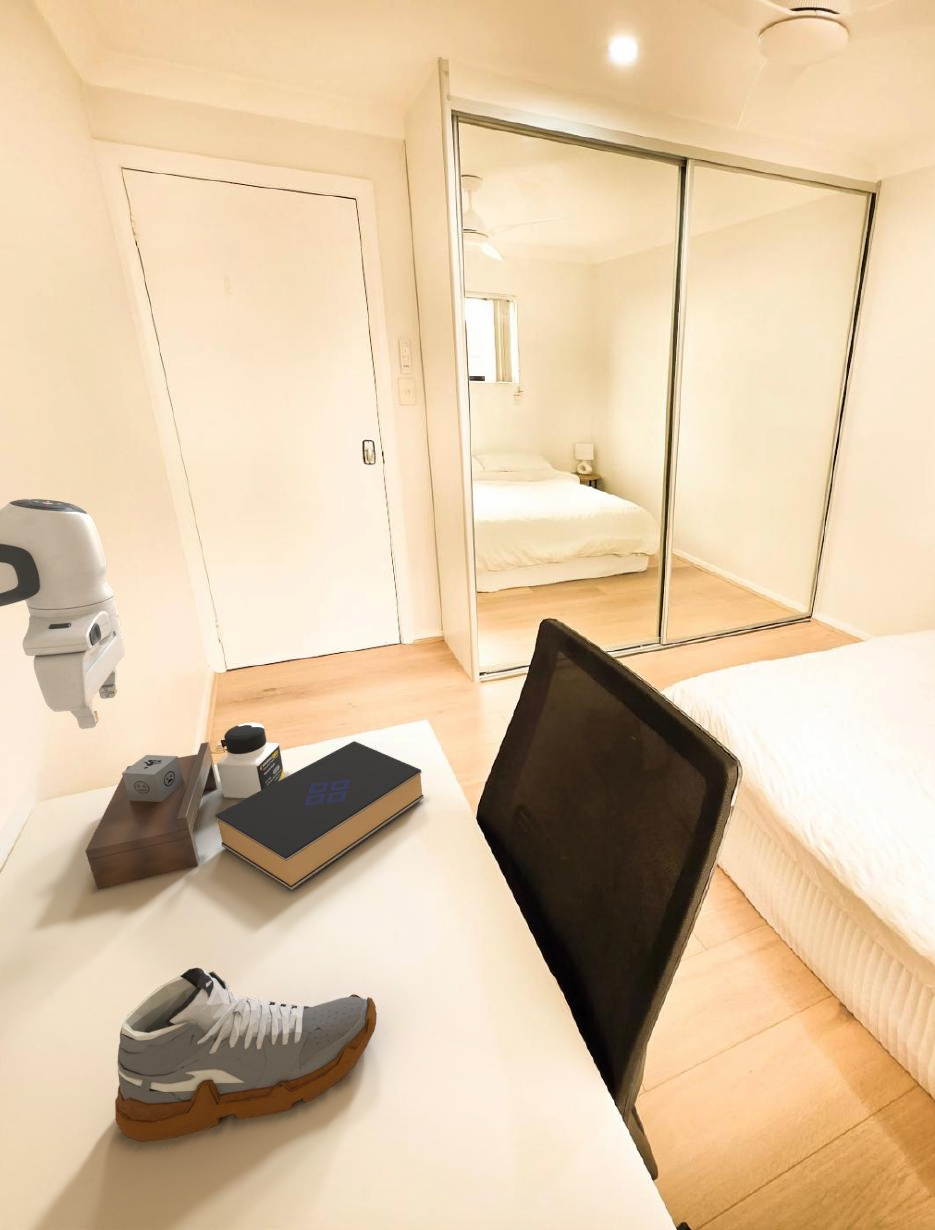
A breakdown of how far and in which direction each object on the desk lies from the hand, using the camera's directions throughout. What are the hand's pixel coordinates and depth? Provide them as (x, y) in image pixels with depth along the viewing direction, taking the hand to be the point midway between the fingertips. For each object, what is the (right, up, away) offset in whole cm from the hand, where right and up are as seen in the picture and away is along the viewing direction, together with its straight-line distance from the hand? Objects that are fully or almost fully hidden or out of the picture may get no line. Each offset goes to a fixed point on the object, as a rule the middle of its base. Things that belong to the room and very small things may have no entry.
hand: (100, 710), depth 87 cm
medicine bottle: (+9, -18, +22) cm, 30 cm away
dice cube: (+1, -15, +9) cm, 17 cm away
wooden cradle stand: (+1, -21, +11) cm, 24 cm away
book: (+27, -21, +14) cm, 37 cm away
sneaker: (+37, -35, -23) cm, 56 cm away
